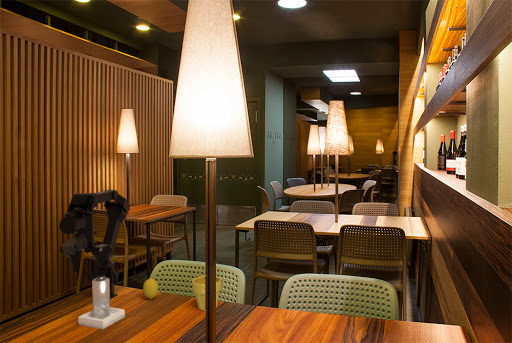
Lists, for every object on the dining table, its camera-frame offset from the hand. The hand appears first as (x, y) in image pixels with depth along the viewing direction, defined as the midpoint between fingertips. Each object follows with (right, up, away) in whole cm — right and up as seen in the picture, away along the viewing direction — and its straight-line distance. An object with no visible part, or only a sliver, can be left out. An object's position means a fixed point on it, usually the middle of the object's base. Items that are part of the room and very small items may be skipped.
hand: (86, 272), depth 142 cm
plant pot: (+42, -13, +1) cm, 44 cm away
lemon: (+20, -13, +10) cm, 26 cm away
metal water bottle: (+9, -12, -9) cm, 18 cm away
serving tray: (+9, -13, -9) cm, 19 cm away
